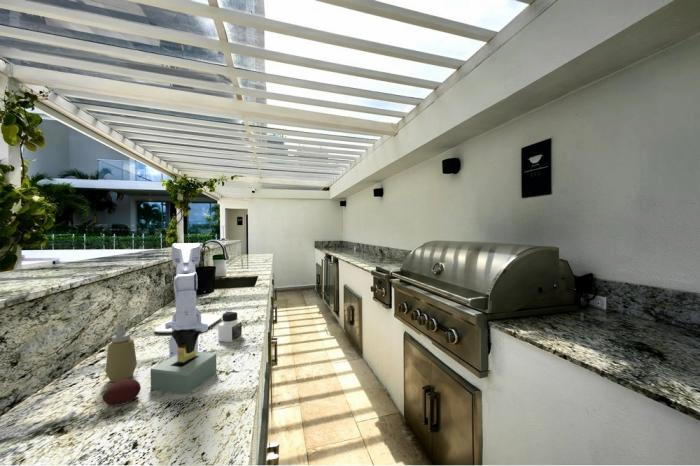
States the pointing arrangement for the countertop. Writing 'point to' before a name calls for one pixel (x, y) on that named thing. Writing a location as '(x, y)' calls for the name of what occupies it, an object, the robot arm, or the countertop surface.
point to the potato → (121, 392)
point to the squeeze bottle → (121, 356)
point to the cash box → (183, 373)
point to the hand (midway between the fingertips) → (186, 351)
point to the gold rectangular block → (185, 353)
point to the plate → (204, 319)
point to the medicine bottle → (229, 327)
